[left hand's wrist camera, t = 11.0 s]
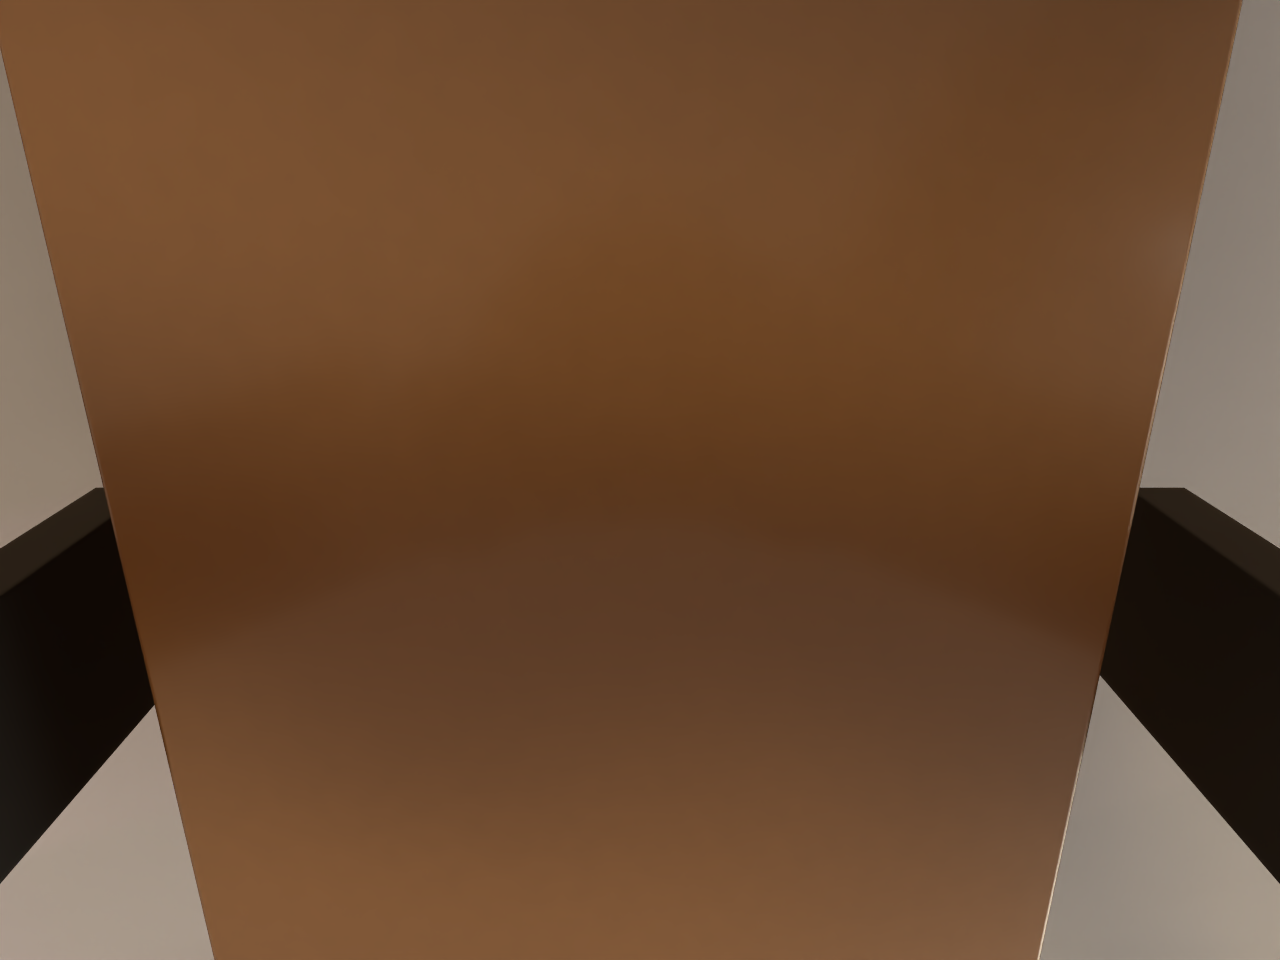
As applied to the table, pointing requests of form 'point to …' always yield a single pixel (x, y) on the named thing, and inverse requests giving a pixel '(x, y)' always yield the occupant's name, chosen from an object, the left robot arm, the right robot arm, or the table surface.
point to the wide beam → (621, 447)
